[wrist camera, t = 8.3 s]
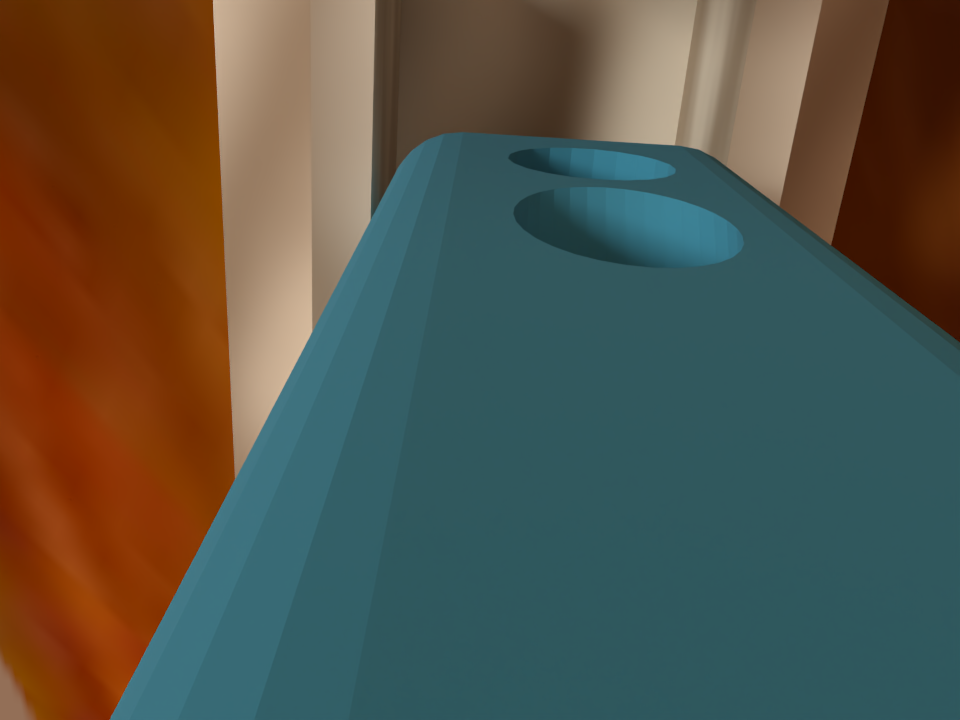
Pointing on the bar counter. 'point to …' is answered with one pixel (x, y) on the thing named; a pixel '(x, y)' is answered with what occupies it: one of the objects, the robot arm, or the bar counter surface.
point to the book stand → (498, 121)
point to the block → (585, 468)
